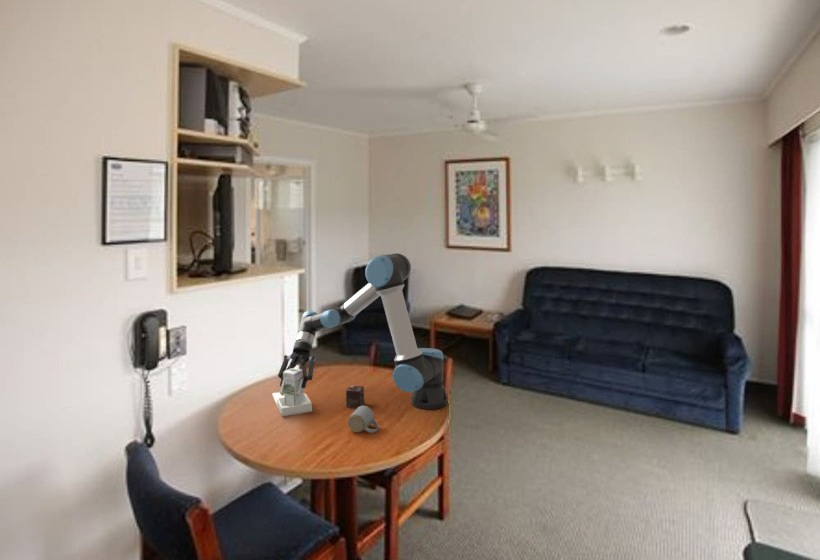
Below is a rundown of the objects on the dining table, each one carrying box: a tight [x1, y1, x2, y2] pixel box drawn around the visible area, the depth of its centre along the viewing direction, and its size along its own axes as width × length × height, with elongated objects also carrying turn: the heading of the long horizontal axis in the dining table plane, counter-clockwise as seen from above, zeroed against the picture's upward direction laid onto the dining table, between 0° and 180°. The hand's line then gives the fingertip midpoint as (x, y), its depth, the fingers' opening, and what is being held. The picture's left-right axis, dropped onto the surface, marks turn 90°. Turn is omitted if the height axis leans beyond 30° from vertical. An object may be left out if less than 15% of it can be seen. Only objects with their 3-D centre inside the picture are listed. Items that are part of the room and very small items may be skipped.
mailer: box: [271, 391, 313, 418], centre depth 205 cm, size 27×12×4 cm, turn 24°
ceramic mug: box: [347, 405, 379, 434], centre depth 178 cm, size 11×8×8 cm
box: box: [345, 385, 365, 409], centre depth 201 cm, size 6×6×7 cm
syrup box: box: [283, 367, 304, 406], centre depth 197 cm, size 6×6×14 cm
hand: (290, 394), depth 194 cm, fingers closed on syrup box, 7 cm apart
